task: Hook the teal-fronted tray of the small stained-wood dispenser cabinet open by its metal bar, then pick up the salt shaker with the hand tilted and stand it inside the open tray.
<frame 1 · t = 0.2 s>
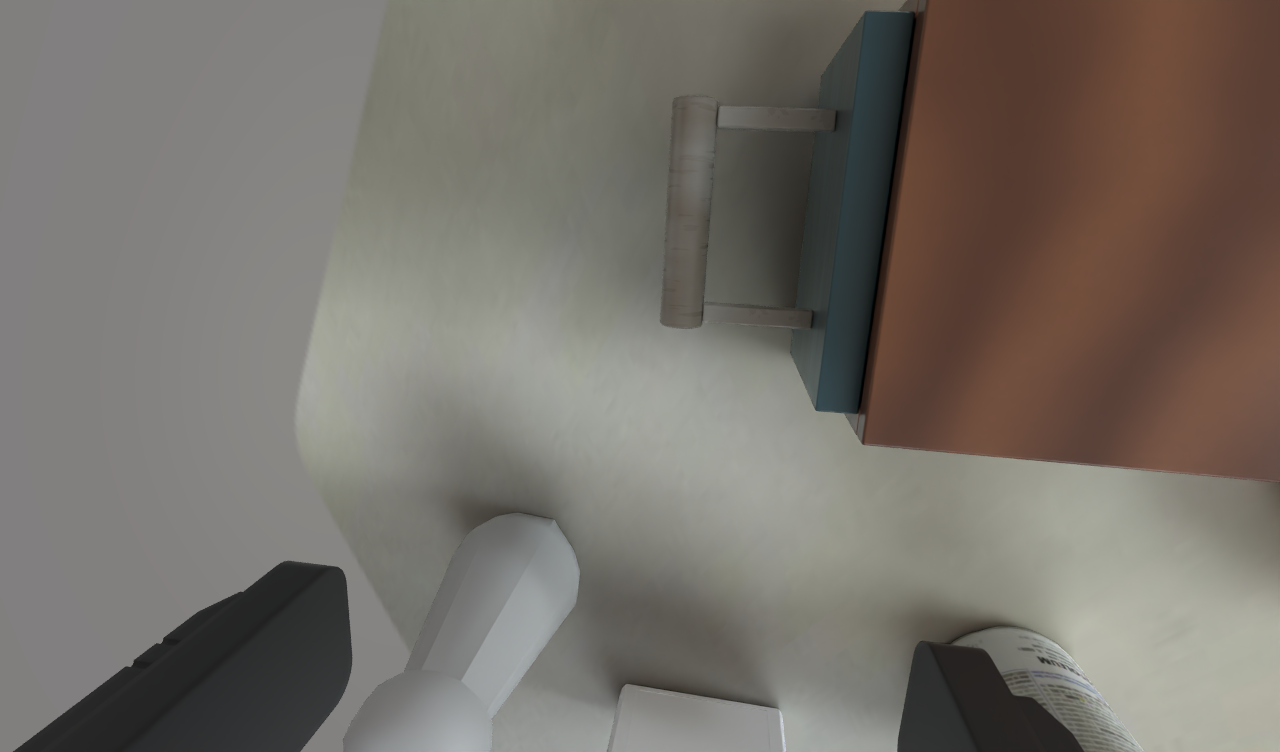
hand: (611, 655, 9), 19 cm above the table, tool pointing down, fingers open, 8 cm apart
spray can: (996, 680, 30), on the table
cabinet: (1015, 232, 25), on the table
drawer: (940, 229, 20), point 5 cm above the table, slide at 0.0 cm
salt shaker: (532, 548, 31), on the table
perfume bottle: (699, 706, 32), on the table
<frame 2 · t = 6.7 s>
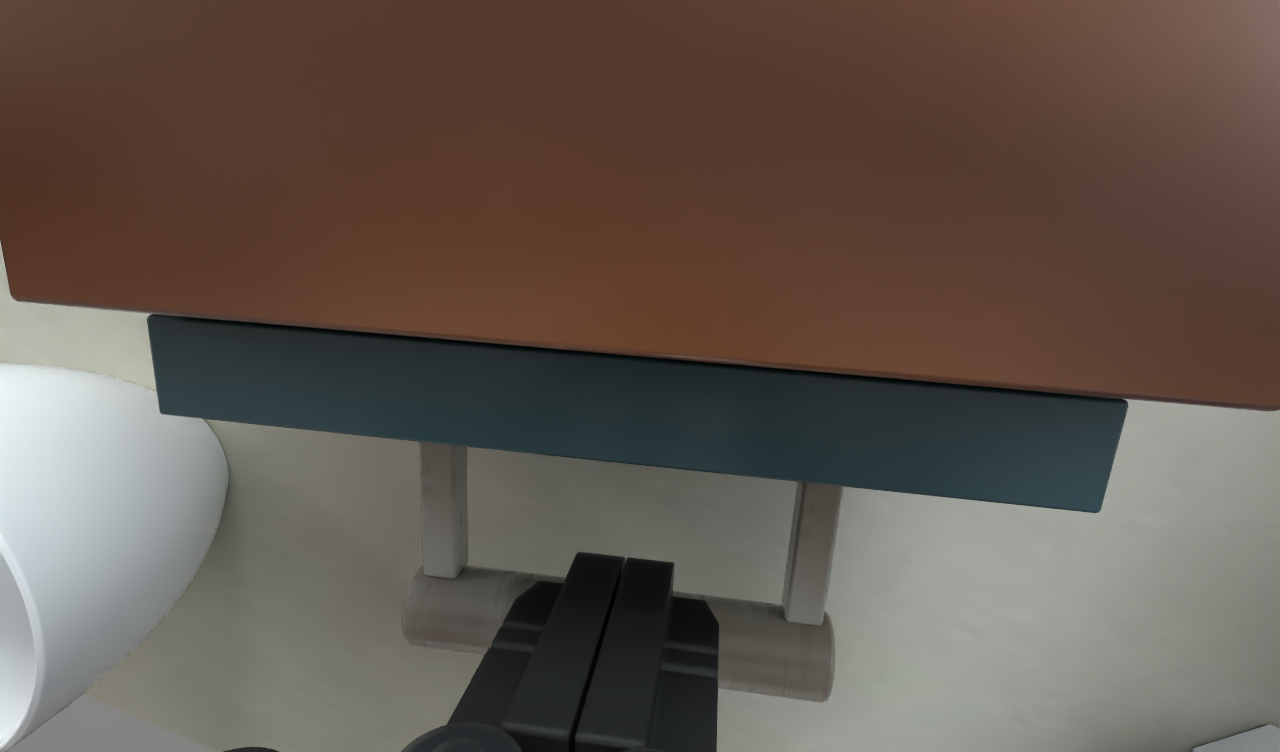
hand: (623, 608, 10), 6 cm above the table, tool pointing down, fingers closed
cup: (131, 447, 18), on the table
drawer: (653, 133, 10), point 5 cm above the table, slide at 0.2 cm, touching gripper
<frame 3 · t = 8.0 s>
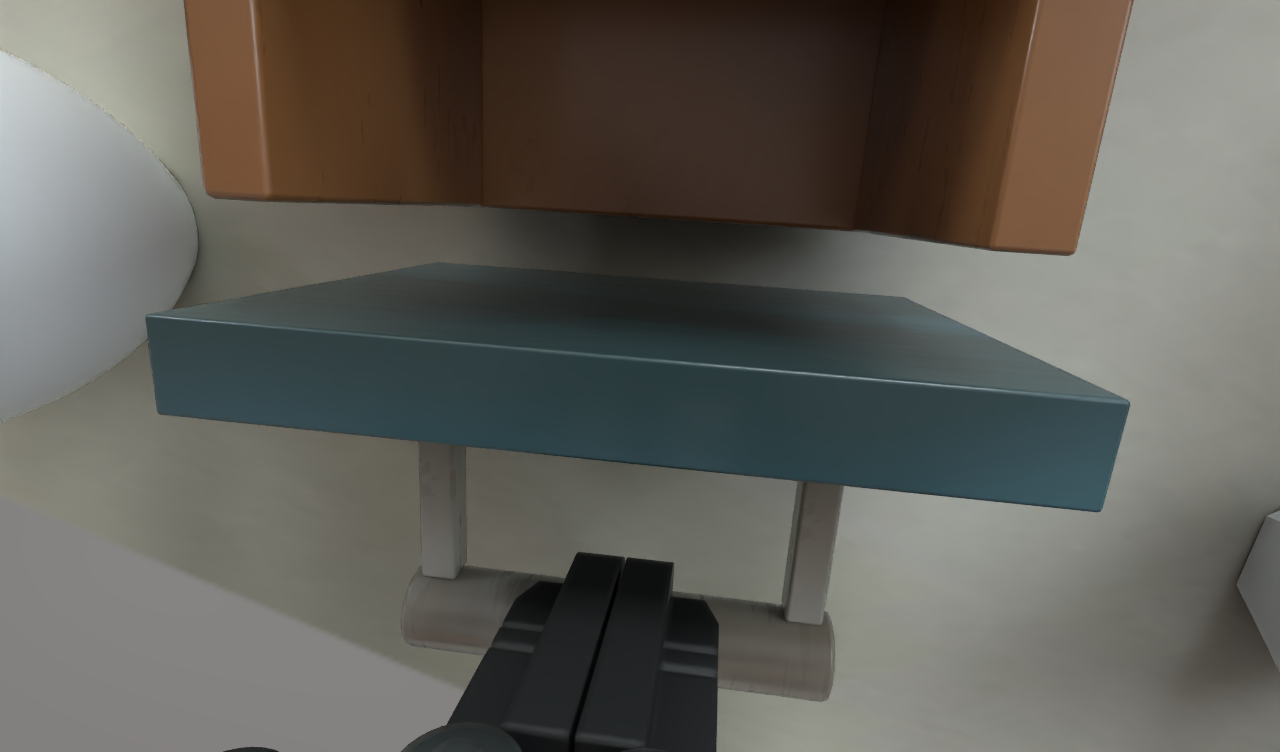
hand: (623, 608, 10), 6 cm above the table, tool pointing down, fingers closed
cup: (90, 213, 17), on the table
drawer: (653, 132, 10), point 5 cm above the table, slide at 6.7 cm, touching gripper
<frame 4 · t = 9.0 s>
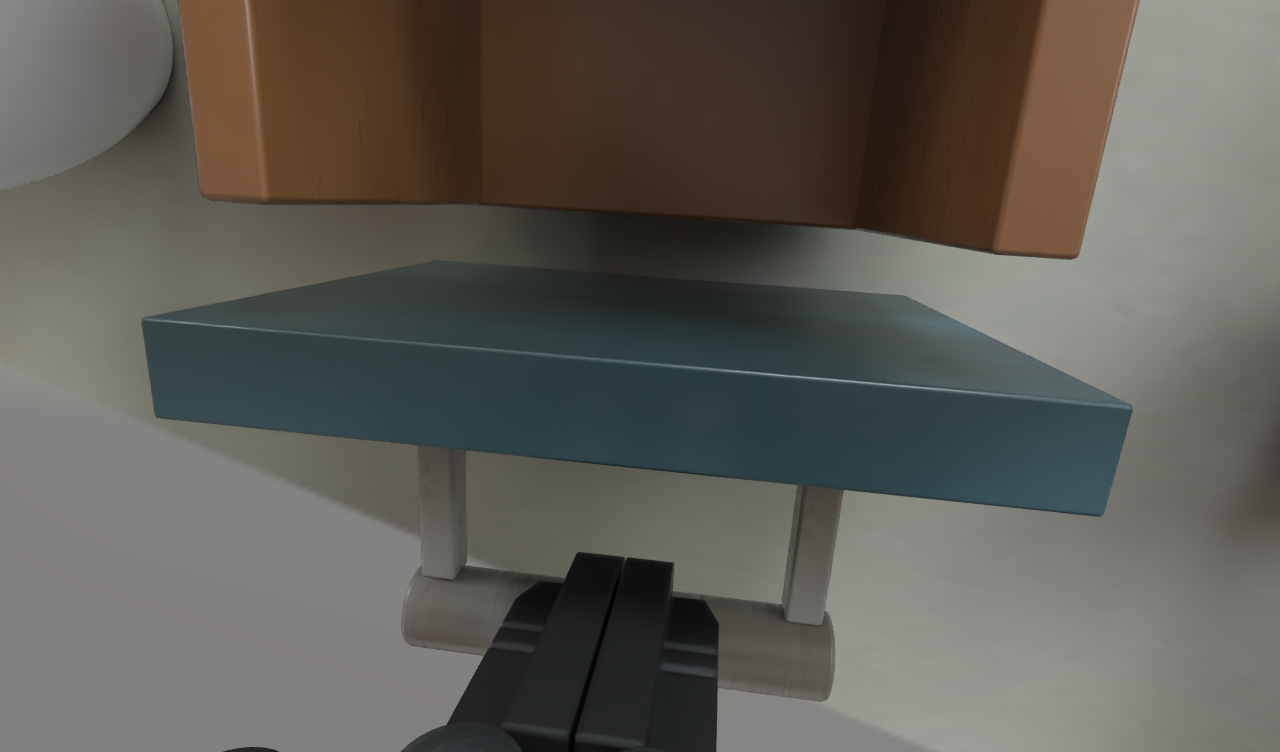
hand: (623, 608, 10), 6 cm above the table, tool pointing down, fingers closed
cup: (56, 23, 15), on the table
drawer: (653, 131, 10), point 5 cm above the table, slide at 11.0 cm, touching gripper
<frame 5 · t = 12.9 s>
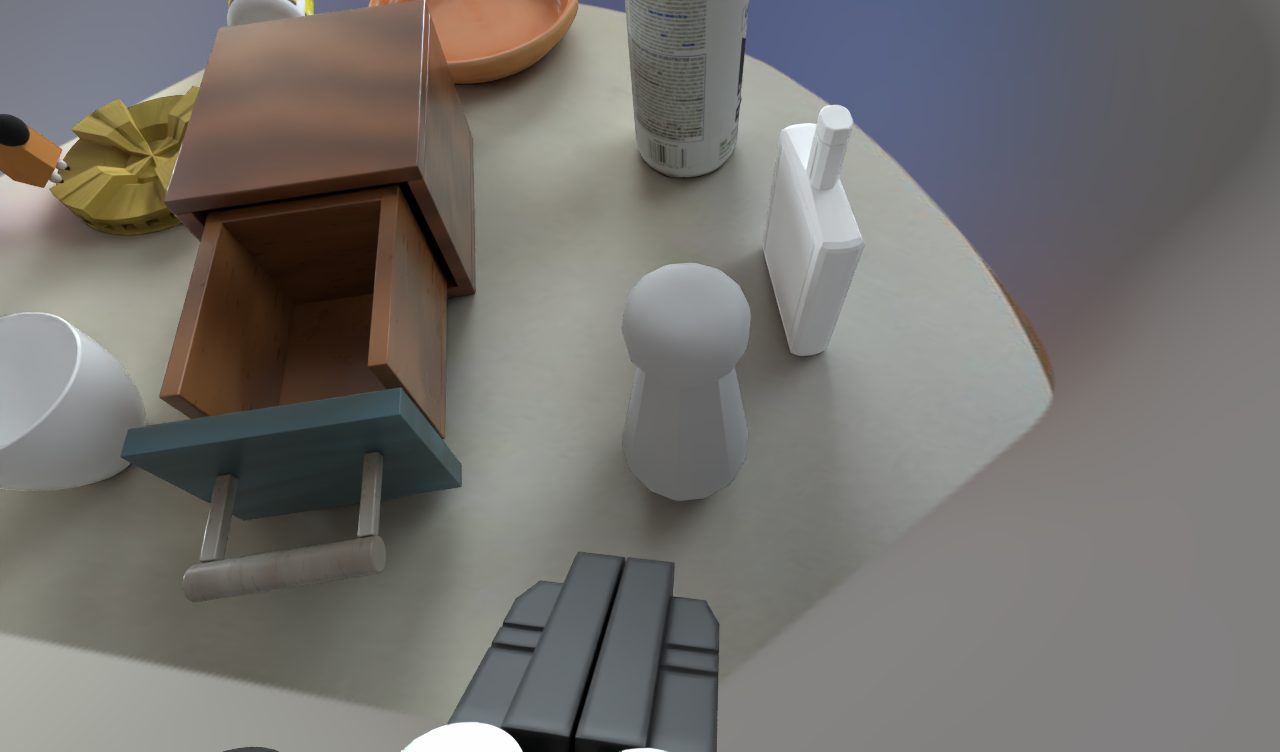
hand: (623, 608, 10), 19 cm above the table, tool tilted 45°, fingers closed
spray can: (685, 148, 43), on the table
cup: (90, 445, 34), on the table
saucer: (482, 37, 51), on the table
cabinet: (383, 222, 41), on the table
drawer: (322, 396, 29), point 5 cm above the table, slide at 11.1 cm
salt shaker: (684, 460, 32), on the table
supplement bottle: (270, 37, 47), point 3 cm above the table
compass: (139, 141, 42), point 2 cm above the table, touching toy
perfume bottle: (791, 298, 36), on the table
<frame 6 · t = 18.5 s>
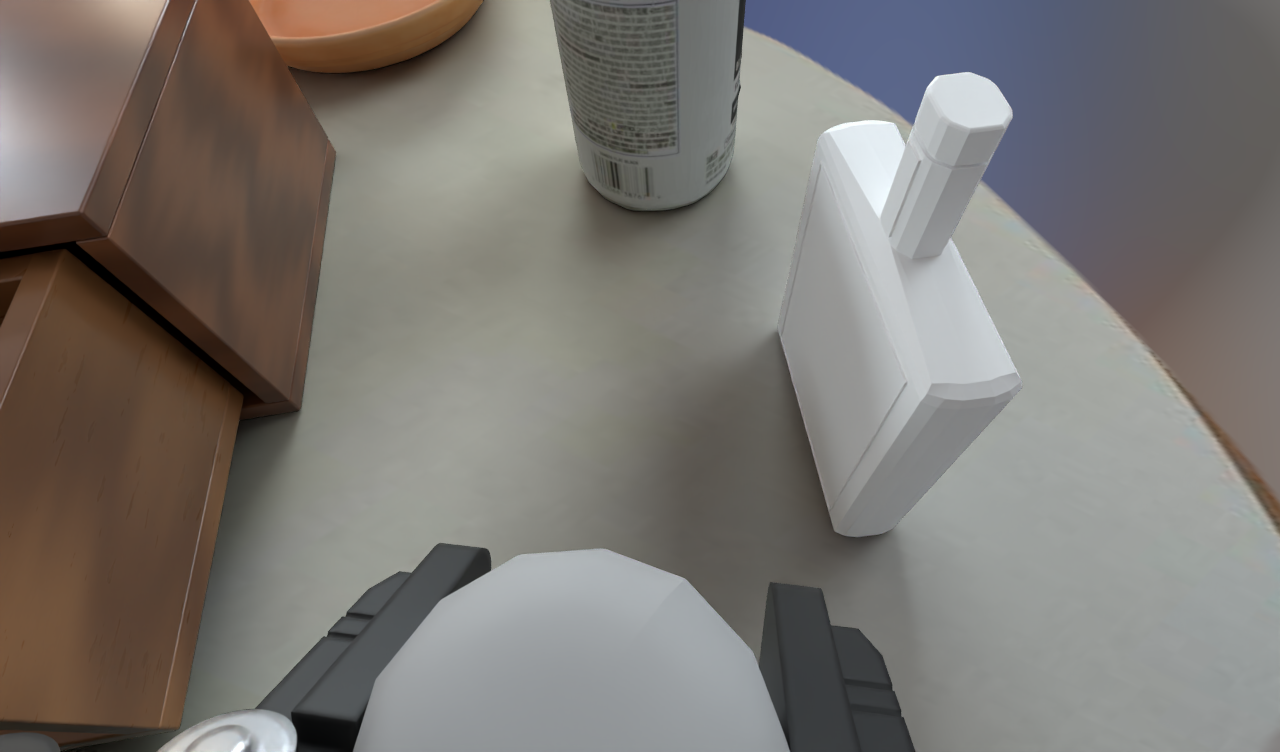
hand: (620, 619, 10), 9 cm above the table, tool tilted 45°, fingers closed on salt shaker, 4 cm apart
spray can: (655, 165, 28), on the table
saucer: (373, 9, 36), on the table
cabinet: (177, 286, 26), on the table
perfume bottle: (829, 421, 21), on the table
when the fingers open (11 cm above the table, at t = 27.0 s): salt shaker stays where it is, resting on drawer.
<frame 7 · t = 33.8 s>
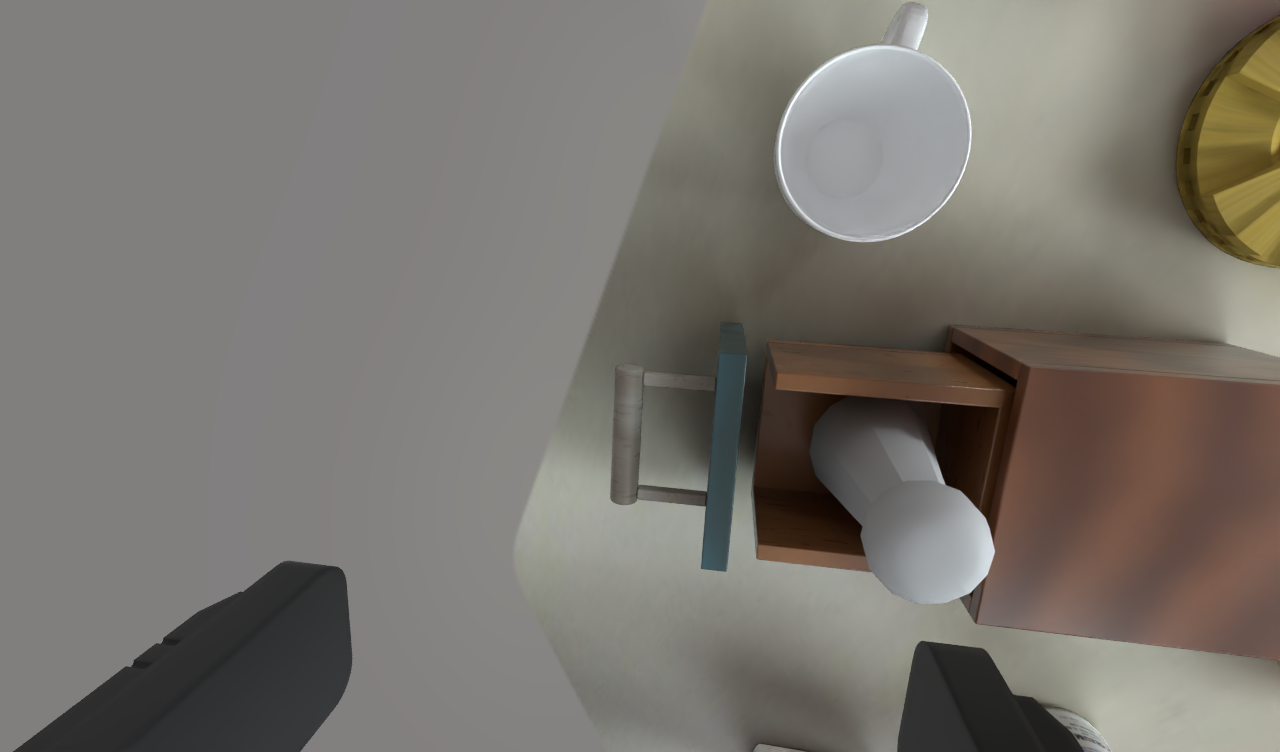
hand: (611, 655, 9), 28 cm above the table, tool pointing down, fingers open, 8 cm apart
spray can: (1040, 744, 40), on the table
cup: (851, 136, 33), on the table
cabinet: (1060, 438, 35), on the table
drawer: (788, 443, 32), point 5 cm above the table, slide at 10.8 cm, touching salt shaker
salt shaker: (859, 431, 34), point 2 cm above the table, touching drawer
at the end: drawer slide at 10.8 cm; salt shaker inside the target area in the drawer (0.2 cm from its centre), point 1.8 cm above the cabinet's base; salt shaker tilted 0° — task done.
